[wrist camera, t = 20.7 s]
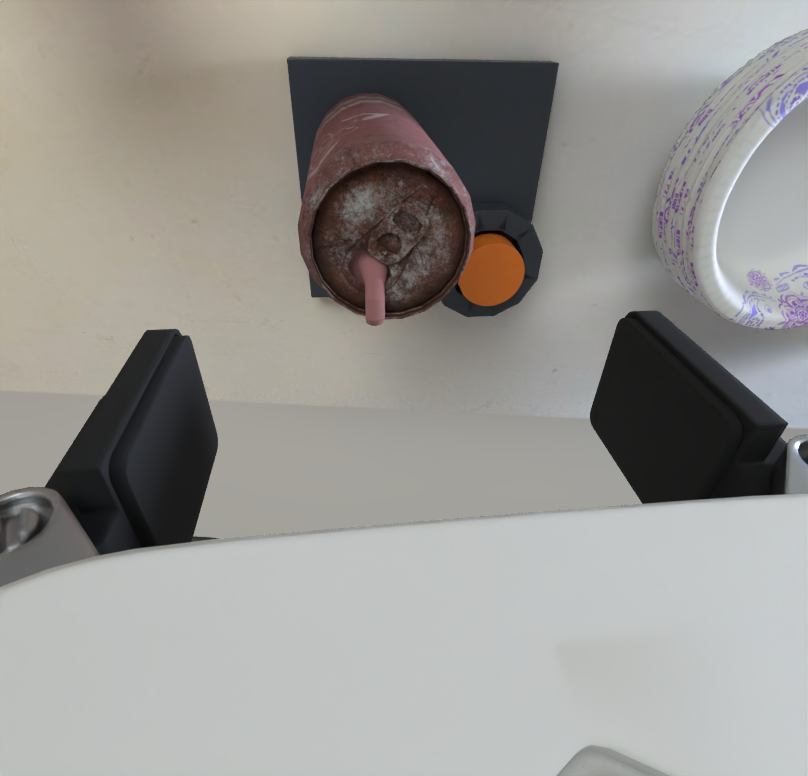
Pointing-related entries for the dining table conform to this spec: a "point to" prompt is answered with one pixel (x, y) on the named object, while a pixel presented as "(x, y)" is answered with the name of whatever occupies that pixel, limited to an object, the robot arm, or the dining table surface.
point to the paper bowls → (743, 194)
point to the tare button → (492, 271)
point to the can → (382, 212)
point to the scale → (451, 134)
